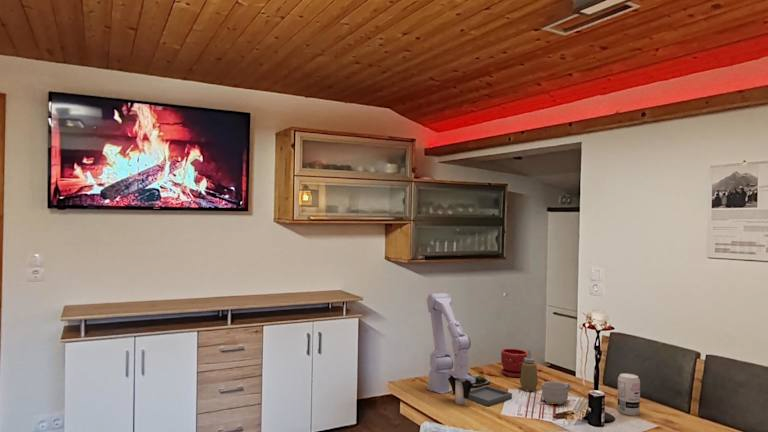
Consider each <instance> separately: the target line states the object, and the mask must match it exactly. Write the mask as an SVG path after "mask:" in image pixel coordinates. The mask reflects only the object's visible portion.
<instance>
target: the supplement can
mask: <svg viewBox="0 0 768 432" xmlns="http://www.w3.org/2000/svg"><path fill="white" fill-rule="evenodd" d="M640 400H641V380H640V378H639V376H638V375H636V374H633V373H619V376H618V377H617V411H618V412H619V413H621V414H623V415H626V416H630V417H631V416H632V417H633V416H637V415H639V414H640V413H641V410H640V407H641V401H640Z"/></svg>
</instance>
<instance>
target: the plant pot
mask: <svg viewBox="0 0 768 432" xmlns="http://www.w3.org/2000/svg"><path fill="white" fill-rule="evenodd" d="M527 352H528V351H526V350H523V349H518V348H517V349H516V348H504V349H501V353H500V359H501V366H502V369H501V372H502V373H503V374H504V375H505V376H507V377H512V378H513V377H514V378H519V377H521V368H522V363H523V362H524V358H525V357H527Z"/></svg>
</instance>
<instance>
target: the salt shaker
mask: <svg viewBox="0 0 768 432" xmlns="http://www.w3.org/2000/svg"><path fill="white" fill-rule="evenodd" d="M464 381H465V380H462V379H457V380H455V395H454V396H455V397H454V399H455V400H454V402H455V404H456V405H457V404H458V405H465V404H467V399H465V398H464V394H463V386H462V382H464Z"/></svg>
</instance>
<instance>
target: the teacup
mask: <svg viewBox="0 0 768 432" xmlns="http://www.w3.org/2000/svg"><path fill="white" fill-rule="evenodd" d="M571 387H572V386H571V384H570V383H568V382H565V383H564V382H560V381H543V382H542V383H541V391H542V393H541V394H542V398H543V400H544V401H545V402H546V403H547V404H549V403H550V405H553V404H552V403H556V404H558V405H557V406H559V405H563V404H565V403H566V402H567V401H568V397H569V392H570V391H571Z"/></svg>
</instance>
